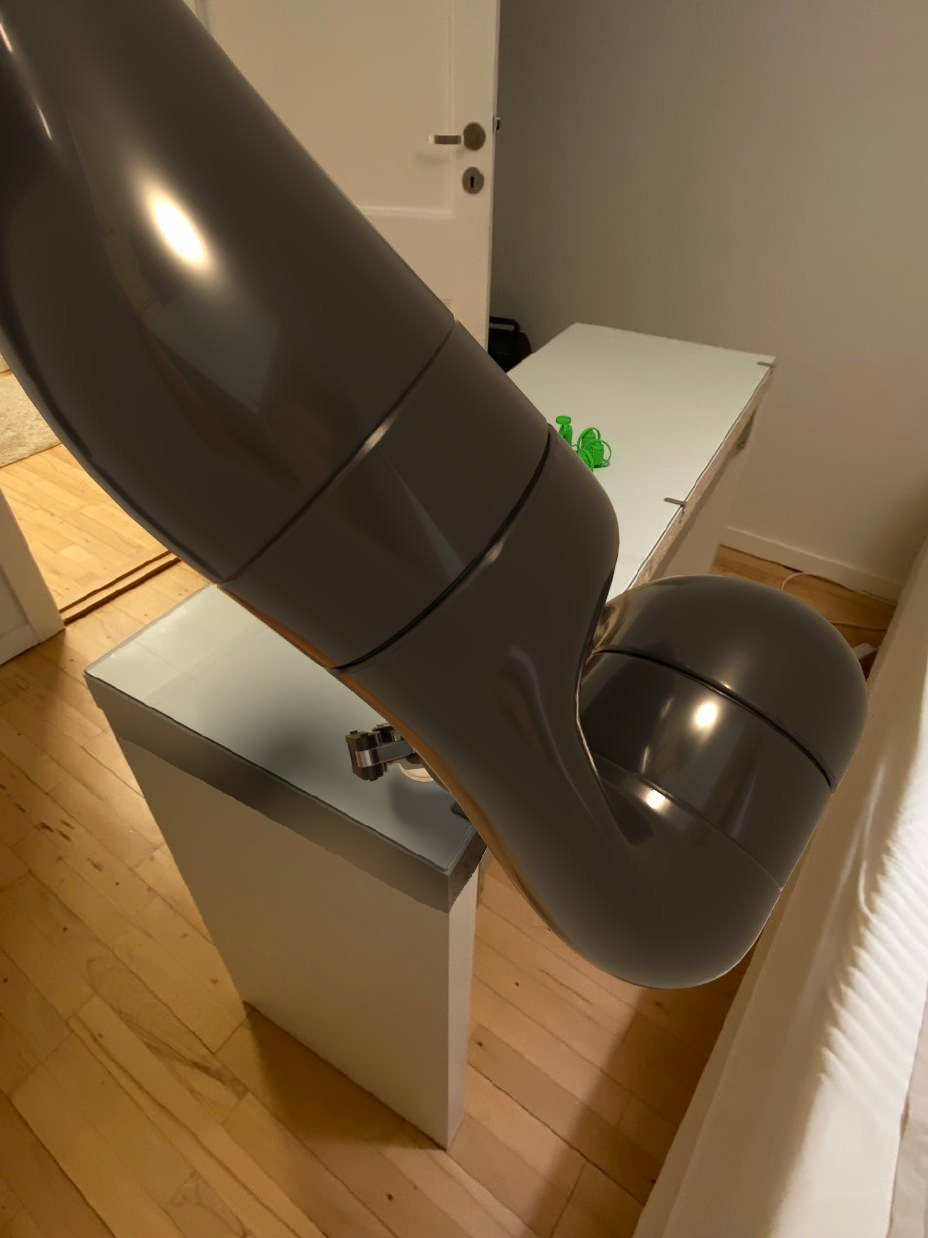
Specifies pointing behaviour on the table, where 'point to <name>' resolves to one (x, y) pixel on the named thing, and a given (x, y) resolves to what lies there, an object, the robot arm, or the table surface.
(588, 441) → the chandelier
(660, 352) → the table surface
